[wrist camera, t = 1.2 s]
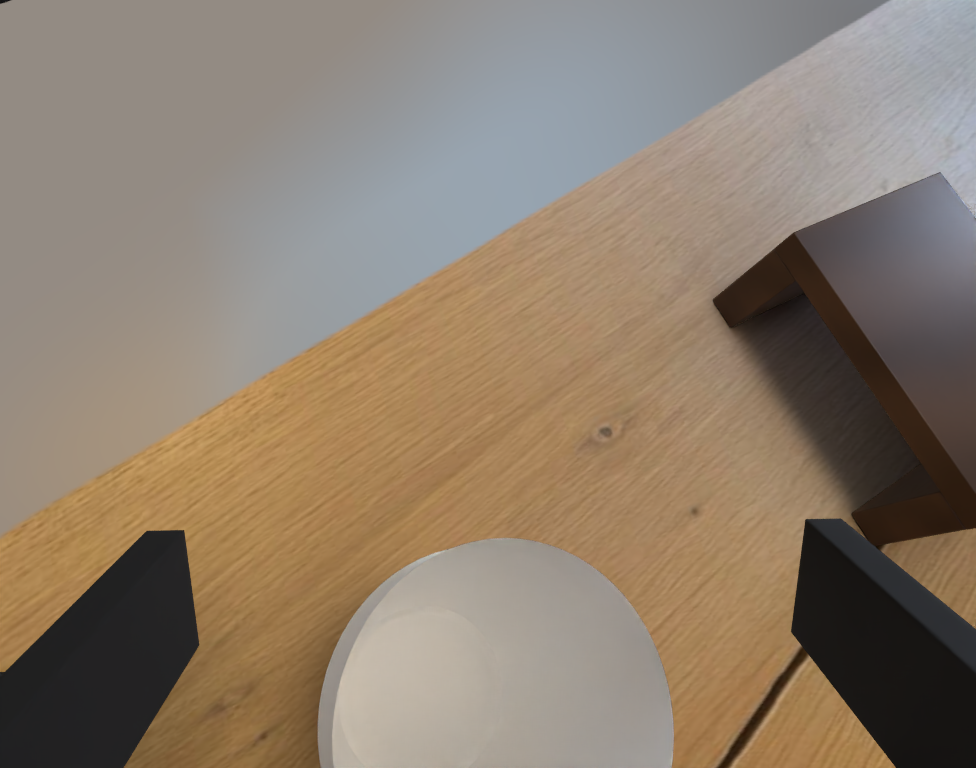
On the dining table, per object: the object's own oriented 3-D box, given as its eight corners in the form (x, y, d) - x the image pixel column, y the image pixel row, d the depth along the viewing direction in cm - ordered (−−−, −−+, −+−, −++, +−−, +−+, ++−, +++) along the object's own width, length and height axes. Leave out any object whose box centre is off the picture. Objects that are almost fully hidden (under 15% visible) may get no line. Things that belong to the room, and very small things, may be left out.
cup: (519, 573, 30) (652, 529, 19) (535, 807, 26) (708, 914, 16) (311, 579, 27) (330, 532, 16) (301, 839, 24) (314, 991, 13)
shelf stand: (711, 299, 39) (793, 232, 32) (847, 239, 44) (940, 171, 38) (872, 546, 35) (997, 524, 29) (998, 449, 41) (1127, 413, 35)
